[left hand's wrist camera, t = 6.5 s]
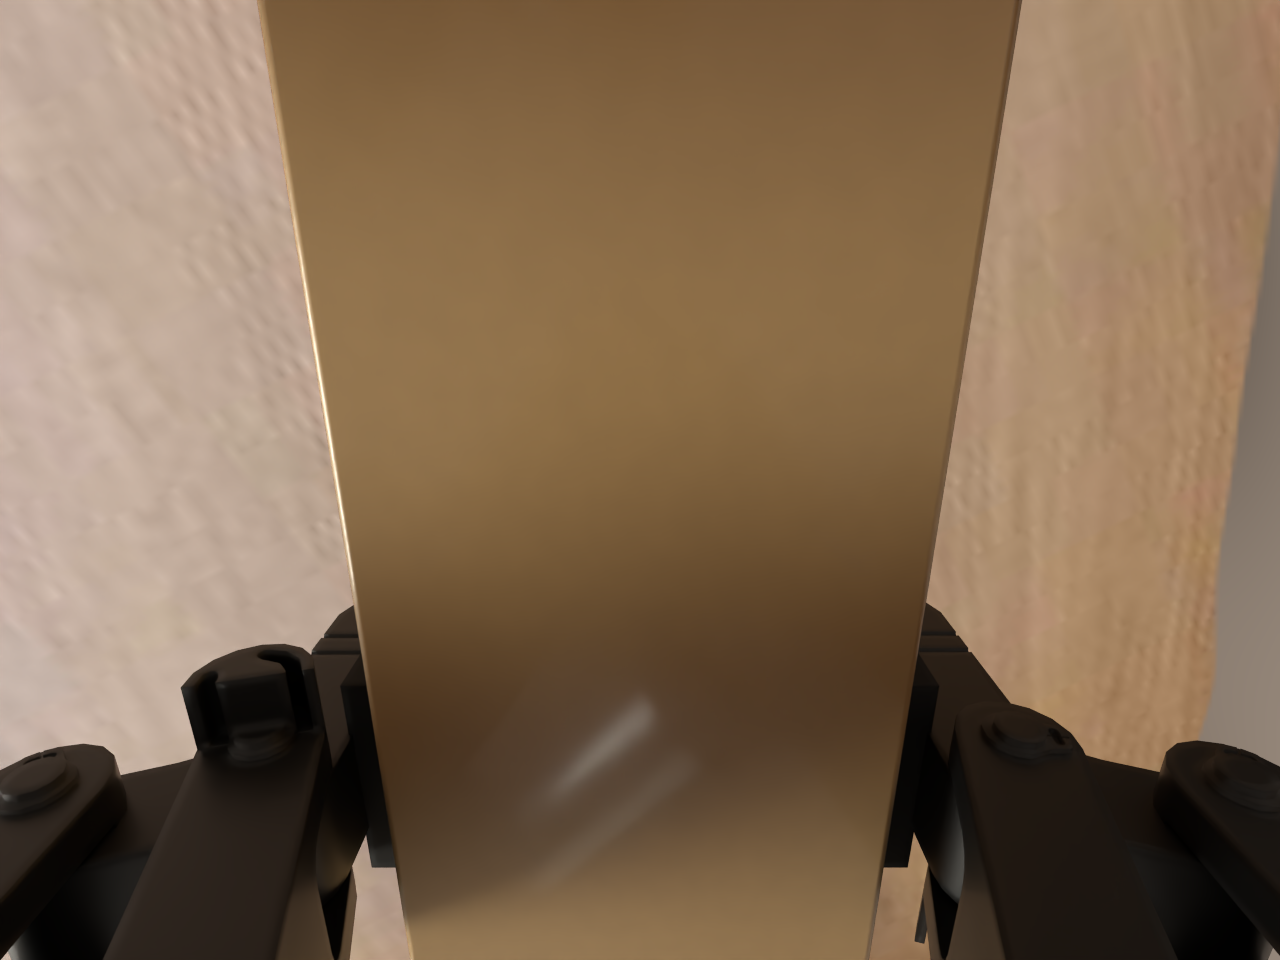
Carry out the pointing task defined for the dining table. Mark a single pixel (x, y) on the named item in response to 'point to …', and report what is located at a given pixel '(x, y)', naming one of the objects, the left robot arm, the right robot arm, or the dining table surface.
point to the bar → (639, 439)
